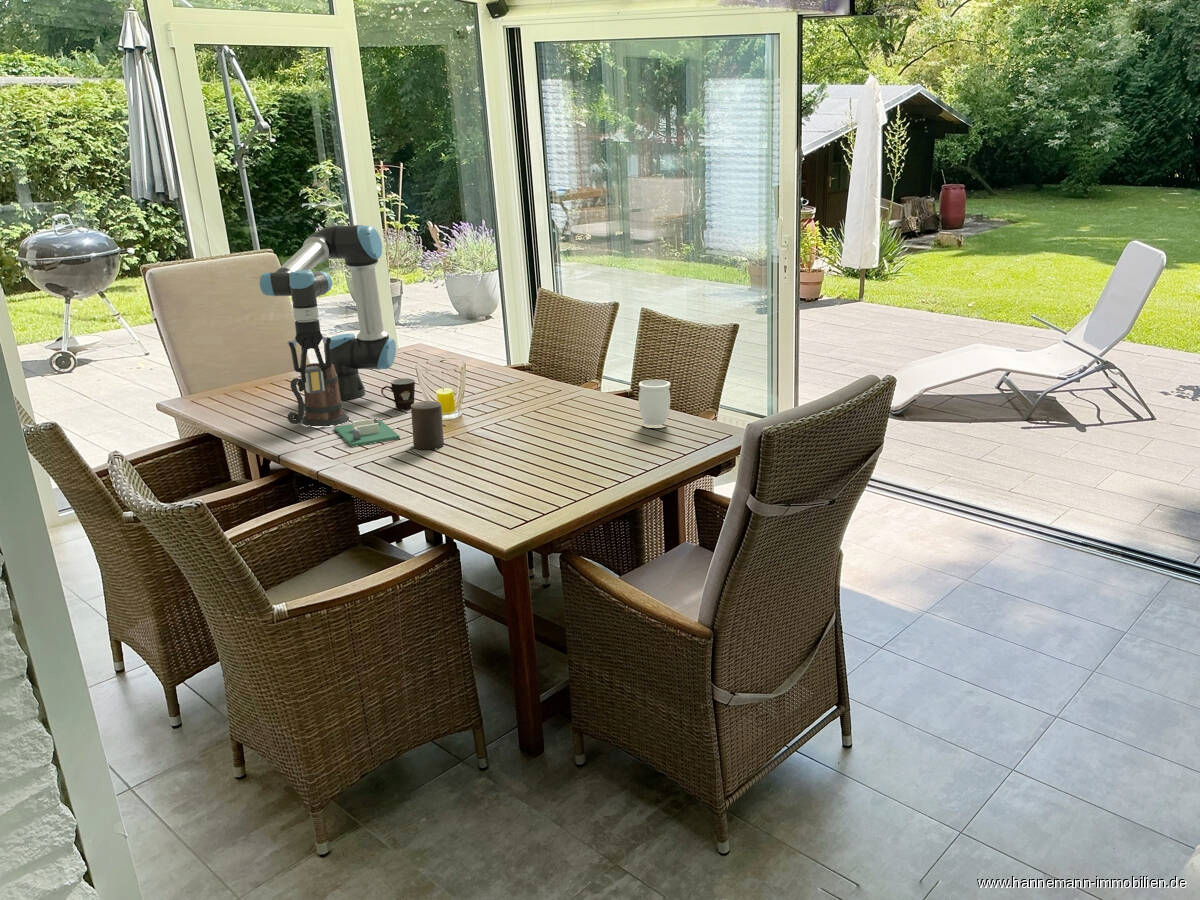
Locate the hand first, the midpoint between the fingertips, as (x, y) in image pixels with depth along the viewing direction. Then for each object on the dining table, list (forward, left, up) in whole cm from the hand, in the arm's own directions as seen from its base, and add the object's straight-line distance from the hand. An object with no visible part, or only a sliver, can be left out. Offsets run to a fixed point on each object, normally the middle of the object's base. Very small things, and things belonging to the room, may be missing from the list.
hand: (315, 390), depth 316 cm
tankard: (-19, +3, -17) cm, 25 cm away
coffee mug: (-22, +34, -17) cm, 44 cm away
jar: (+48, +100, -17) cm, 112 cm away
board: (+3, +14, -16) cm, 22 cm away
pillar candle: (+26, +28, -17) cm, 42 cm away
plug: (0, 0, 0) cm, 0 cm away
